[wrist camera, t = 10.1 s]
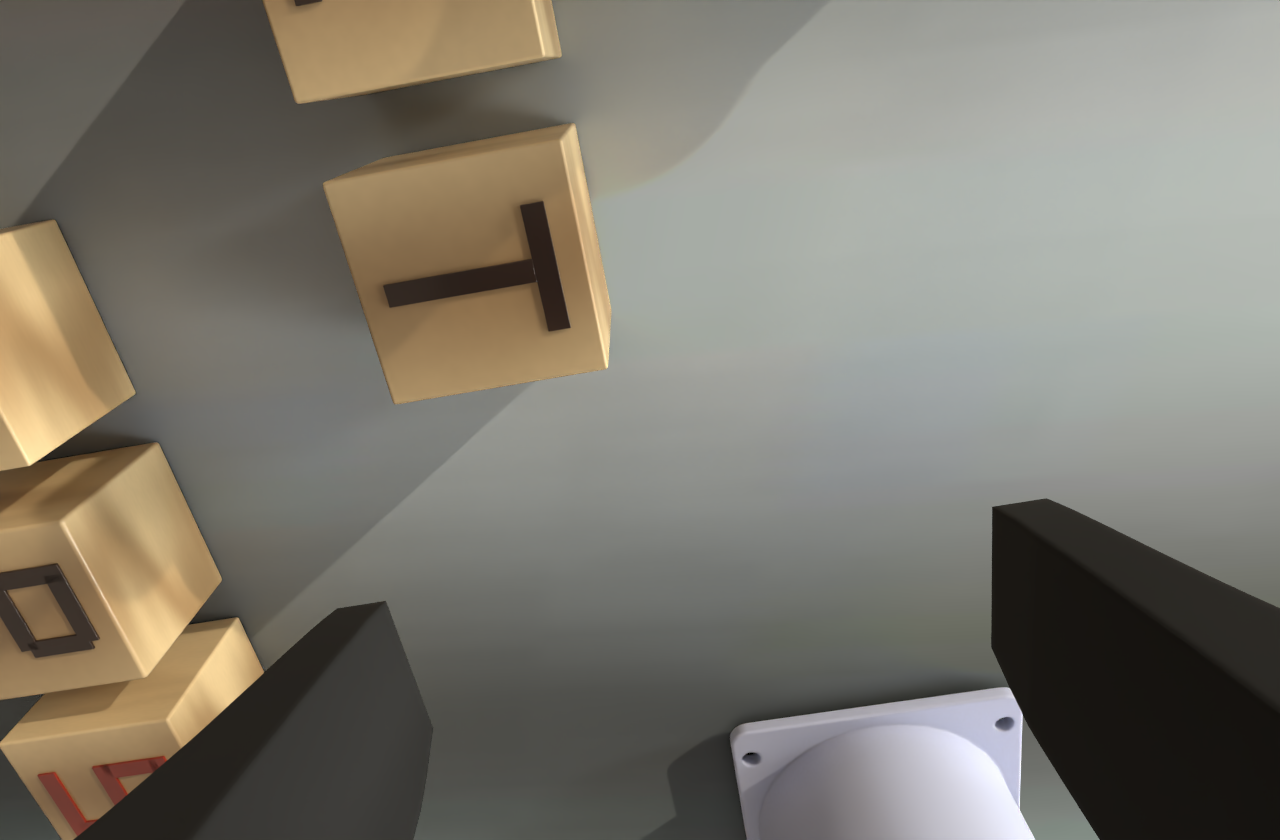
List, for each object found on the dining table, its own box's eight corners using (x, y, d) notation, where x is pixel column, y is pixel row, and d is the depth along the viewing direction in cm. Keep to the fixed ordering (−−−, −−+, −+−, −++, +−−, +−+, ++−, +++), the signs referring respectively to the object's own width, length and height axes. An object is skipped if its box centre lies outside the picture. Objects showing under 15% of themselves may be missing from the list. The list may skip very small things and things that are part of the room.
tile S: (292, 729, 23) (234, 846, 19) (156, 749, 23) (76, 867, 19) (239, 616, 21) (166, 721, 18) (93, 637, 21) (-7, 746, 18)
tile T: (611, 312, 18) (608, 370, 14) (435, 342, 18) (392, 407, 15) (575, 122, 16) (561, 138, 13) (381, 158, 16) (319, 183, 13)
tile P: (224, 580, 20) (145, 681, 17) (75, 603, 21) (-31, 708, 17) (159, 440, 19) (58, 522, 15) (-2, 467, 19) (-135, 554, 16)
